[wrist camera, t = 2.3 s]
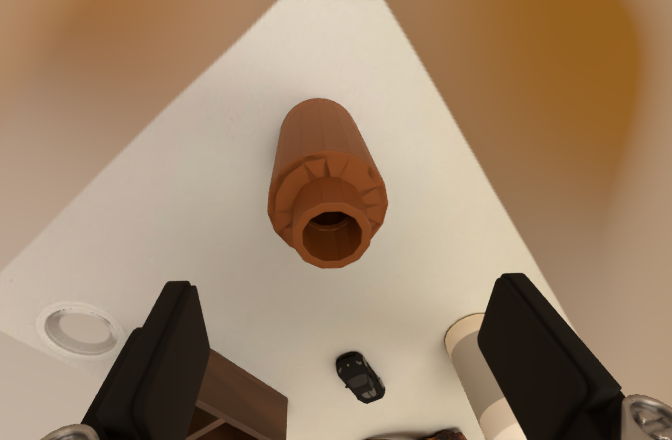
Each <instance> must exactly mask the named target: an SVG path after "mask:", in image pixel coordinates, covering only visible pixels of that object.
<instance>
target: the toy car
mask: <svg viewBox="0 0 672 440" xmlns="http://www.w3.org/2000/svg"><path fill="white" fill-rule="evenodd" d="M336 370H337V374H338V376H339V377H340V378H341V380H342V381H343V382H344V383H345V384H346V386H345V388H349V389H350V390H351V391H352V392H353V393H354V394H355V396H356V397H357V399H358V400H359V401H361V402H363V403H366V404H368V403H371V402H373V401H376V400H379V399H381V398H383V396H384V394H385V387H384V385H383V382H382V381H381V379H380V378H378V377H377V375H376V374H375V373H374V371H373V370H372V369H371V367H370V366H369V364H368V362H366V360H365V358H364V357H363V355H361V354H359V353H349V354H346V355H344V356H342V357H340V358H339V359H337V361H336Z"/></svg>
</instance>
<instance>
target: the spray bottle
mask: <svg viewBox="0 0 672 440" xmlns="http://www.w3.org/2000/svg"><path fill="white" fill-rule="evenodd" d="M484 315H485V314H475V315H471V316H468V317H466V318H463V319H461V320H459V321H458V322H457V323H456V324H454V325H453V326H452V327H451V328H450V330H449V331H448V332H447V335H446V338H445V344H446V349H447V351H448V353H449V356H450V358H451V360H452V363H453V365H454V367H455V370H456V372H457V374H458V377H459V379H460V381H461V384H462V386H463V388H464V391H465V393H466V395H467V397H468V400H469V402H470V404H471V407H472V409H473V411H474V414H475V416H476V418H477V421H478V423H479V425H480V428H481V430H482V432H483V434H484V437H485V439H486V440H527V439H526V437H525V435H524V433H523V431H522V429H521V427H520V425H519V424H518V422H517V420H516V418H515V416H514V414H513V412H512V410H511V408H510V406H509V404H508V402H507V401H506V399H505V397H504V395H503V393H502V391H501V389H500V387H499V385H498V383H497V381H496V380H495V378H494V376H493V374H492V372H491V370H490V368H489V366H488V364H487V362H486V360H485V359H484V357H483V355H482V353H481V351H480V349H479V347H478V343H477V336H478V333H479V330H480V327H481V324H482V321H483V318H484Z"/></svg>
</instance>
